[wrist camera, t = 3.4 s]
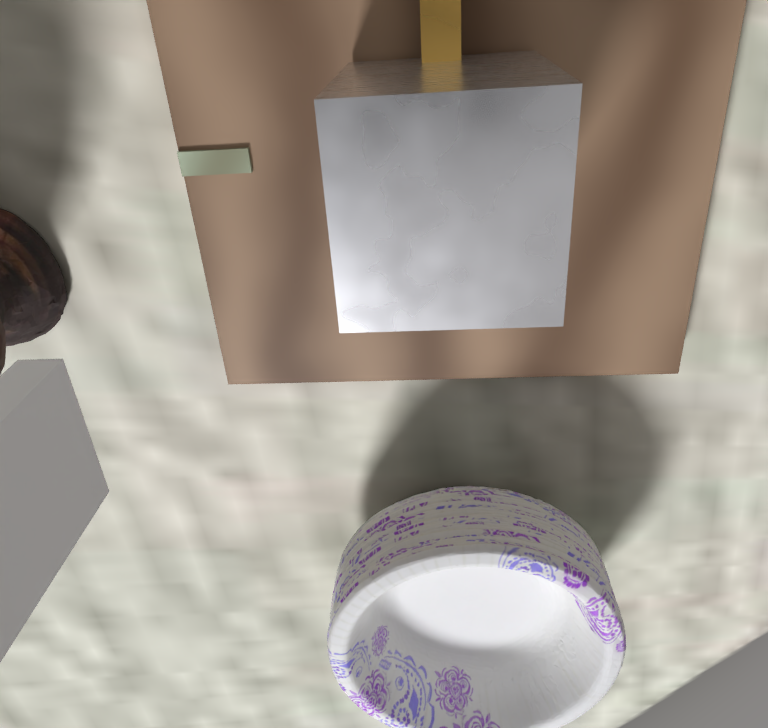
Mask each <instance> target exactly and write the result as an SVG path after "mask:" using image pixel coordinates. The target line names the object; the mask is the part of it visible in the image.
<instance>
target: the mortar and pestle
mask: <svg viewBox="0 0 768 728" xmlns="http://www.w3.org/2000/svg"><path fill="white" fill-rule="evenodd" d="M66 301H67V294H66V290H65V284H64V280H63V276H62V273H61V270H60V267H59V265H58V263H57V262H56V260H55V258H54V256H53V254H52V253H51V251H50V249H49V247H48V246H47V244H46V243H45V242H44V240H43V239H42V238H41V237H40V236H39V235H38V234H37V233H36V232H35V231H34V230H33V229H32V228H30V227H29V226H27V225H26V224H25V223H24V222H23V221H22V220H21V219H20V218H18V217H17V216H15V215H14V214H12V213H10V212H8V211H5V210H3V209H0V374H1V371H2V369H3V367H4V364H5V354H6V346H12V345H15V344H19V343H24V342H28V341H31V340H33V339H35V338H37V337H39V336H41V335H43V334H46V333H47V332H48V331H50V330H51V329H52V328H53V327H54V326H55V325H56V324H57V323H58V321H59V320H60V318H61V315H62V314H63V310H64V307H65V304H66Z"/></svg>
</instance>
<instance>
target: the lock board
mask: <svg viewBox="0 0 768 728" xmlns="http://www.w3.org/2000/svg"><path fill="white" fill-rule="evenodd" d="M746 1H747V0H461V55H471V54H487V53H502V52H518V51H533V50H535V51H536V52H538V53H539V54H540V55H542V56H543V57H545V58H546V59H548V60H549V61H551V62H552V63H554V64H555V65H556V66H558V67H559V68H561V69H562V70H564V71H565V72H567V73H568V74H569V75H571V76H572V77H574V78H575V79H577V80H578V81H580V82H581V83H583V84H582V97H581V109H580V122H579V135H578V147H577V160H576V173H575V185H574V198H573V211H572V223H571V236H570V248H569V261H568V274H567V286H566V299H565V312H564V324H563V327H529V328H496V329H463V330H430V331H397V332H364V333H339V324H338V315H337V306H336V297H335V288H334V279H333V270H332V261H331V252H330V243H329V233H328V224H327V215H326V206H325V197H324V188H323V179H322V170H321V161H320V152H319V143H318V134H317V125H316V115H315V106H314V99H315V98H316V97H317V96H318V95H319V94H320V93H321V91H322V90H323V89H324V88H325V87H326V86H327V85H328V84H329V83H330V82H331V81H332V80H333V79H334V78H335V77H336V76H337V75H338V74H339V72H340V71H341V70H342V69H343V68H344V67H345V66H346V65H347V64H348V63H349V62H363V61H378V60H394V59H409V58H422V54H421V24H420V0H147V5H148V10H149V14H150V19H151V24H152V29H153V33H154V38H155V43H156V47H157V52H158V57H159V61H160V66H161V71H162V75H163V80H164V85H165V89H166V94H167V99H168V103H169V108H170V113H171V118H172V122H173V127H174V132H175V136H176V141H177V146H178V150H179V151H178V152H177V154H178V159H179V163H180V168H181V173H182V176H184V178H185V183H186V188H187V192H188V197H189V202H190V207H191V211H192V216H193V221H194V225H195V230H196V235H197V239H198V244H199V249H200V253H201V258H202V263H203V267H204V272H205V277H206V281H207V286H208V291H209V296H210V300H211V305H212V310H213V314H214V319H215V324H216V328H217V333H218V338H219V342H220V347H221V352H222V356H223V361H224V366H225V370H226V375H227V380H228V384H261V383H302V382H344V381H385V380H427V379H469V378H510V377H552V376H593V375H635V374H676V373H678V372H679V366H680V361H681V355H682V350H683V344H684V339H685V334H686V328H687V323H688V317H689V312H690V306H691V301H692V295H693V290H694V284H695V279H696V273H697V268H698V263H699V257H700V252H701V246H702V241H703V235H704V230H705V224H706V219H707V213H708V208H709V203H710V197H711V192H712V186H713V181H714V175H715V170H716V164H717V159H718V153H719V148H720V143H721V137H722V132H723V126H724V121H725V115H726V110H727V104H728V99H729V93H730V88H731V83H732V77H733V72H734V66H735V61H736V55H737V50H738V44H739V39H740V33H741V28H742V22H743V17H744V12H745V6H746Z"/></svg>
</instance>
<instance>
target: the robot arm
mask: <svg viewBox="0 0 768 728" xmlns="http://www.w3.org/2000/svg"><path fill="white" fill-rule="evenodd" d="M108 492H109V489H108V486H107V483H106V480H105V478H104V475H103V472H102V469H101V466H100V463H99V460H98V458H97V455H96V452H95V449H94V446H93V443H92V440H91V438H90V435H89V432H88V429H87V426H86V423H85V420H84V418H83V415H82V412H81V409H80V406H79V403H78V400H77V398H76V395H75V392H74V389H73V386H72V383H71V380H70V378H69V375H68V372H67V369H66V366H65V363H64V361H63V359H38V360H17V361H16V362H15V363H14V364H13V365H12V366H11V367H10V368H8V369H7V370H6V371H5V372H4V373H3V374H2V375H1V376H0V662H1V661H2V659H3V657H4V656H5V654H6V653H7V651H8V650H9V648H10V646H11V645H12V643H13V642H14V640H15V639H16V637H17V635H18V634H19V632H20V631H21V629H22V628H23V626H24V624H25V623H26V621H27V620H28V618H29V617H30V615H31V613H32V612H33V610H34V609H35V607H36V606H37V604H38V602H39V601H40V599H41V598H42V596H43V595H44V593H45V591H46V590H47V588H48V587H49V585H50V584H51V582H52V580H53V579H54V577H55V576H56V574H57V572H58V571H59V569H60V568H61V566H62V565H63V563H64V561H65V560H66V558H67V557H68V555H69V554H70V552H71V550H72V549H73V547H74V546H75V544H76V543H77V541H78V539H79V538H80V536H81V535H82V533H83V532H84V530H85V528H86V527H87V525H88V524H89V522H90V521H91V519H92V517H93V516H94V514H95V513H96V511H97V510H98V508H99V506H100V505H101V503H102V502H103V500H104V499H105V497H106V495H107V494H108Z"/></svg>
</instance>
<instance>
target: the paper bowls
mask: <svg viewBox="0 0 768 728" xmlns="http://www.w3.org/2000/svg"><path fill="white" fill-rule="evenodd" d="M330 614H331V615H330V624H329V628H328V635H327V648H328V655H329V659H330V664H331V667H332V671H333V673H334V676H335V678H336V680H337V681H338V683H339V685H340V686H341V688H342V690H343V691H344V692H345V693H346V695H347V696H348V697H349V698H350V699H351V700H352V701H353V702H354V703H355V704H356V705H357V706H358V707H359V708H361V709H362V710H363V711H365V712H366V713H368V714H369V715H370V716H372V717H373V718H375V719H377V720H378V721H380V722H382V723H384V724H386V725H388V726H390V727H392V728H560V727H562V726H564V725H566V724H568V723H570V722H572V721H573V720H575V719H577V718H578V717H580V716H581V715H583V714H584V713H586V712H587V711H588V710H590V709H591V708H592V707H593V706H595V705H596V704H597V703H598V702H599V701H600V700H601V699H602V698H603V697H604V696H605V695H606V693H607V692H608V690H609V689H610V688H611V686H612V685H613V684H614V681H615V679H616V678H617V676H618V674H619V671H620V669H621V667H622V664H623V660H624V656H625V650H626V637H625V629H624V624H623V620H622V617H621V614H620V610H619V607H618V604H617V602H616V599H615V596H614V593H613V590H612V587H611V584H610V580H609V578H608V574H607V571H606V568H605V566H604V563H603V561H602V559H601V557H600V553H599V550H598V549H597V547H596V545H595V543H594V542H593V541H592V539H591V537H590V536H589V535H588V533H587V532H586V531H585V530H584V529H583V528H582V527H581V526H580V525H579V523H577V522H576V521H574V520H573V519H572V518H571V517H569V516H568V515H567V514H565V513H563V512H562V511H561V510H559V509H557V508H555V507H554V506H552V505H551V504H549V503H544V502H543V501H542V500H541V499H534V498H533V497H531V496H527V495H524V494H521V493H518V492H514V491H511V490H505V489H499V488H489V487H484V486H481V487H474V486H466V487H465V486H464V487H462V486H459V487H448V488H440V489H437V490H433V491H429V492H426V493H421V494H417V495H414V496H411V497H409V498H406V499H404V500H402V501H399V502H396V503H394V504H393V505H390V506H389V507H386V508H384V509H383V510H381V511H380V512H378V513H377V514H375V515H374V516H372V517H371V518H370V519H368V520H367V521H366V522H365V523H364V524H363V525H362V526H361V527H360V528H359V529H358V530H357V531H356V533H355V534H354V535H353V537H352V538H351V539H350V541H349V543H348V544H347V546H346V548H345V550H344V552H343V554H342V557H341V560H340V563H339V566H338V569H337V575H336V579H335V587H334V591H333V596H332V606H331V613H330Z"/></svg>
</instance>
